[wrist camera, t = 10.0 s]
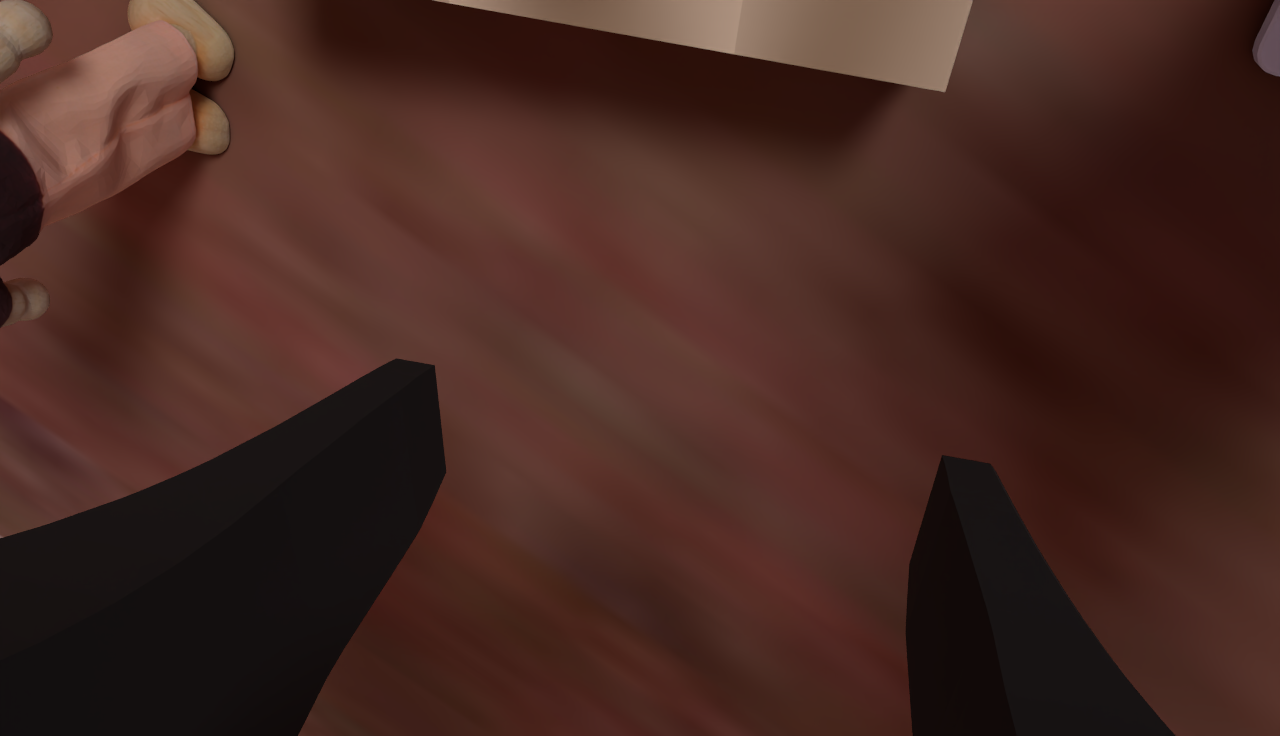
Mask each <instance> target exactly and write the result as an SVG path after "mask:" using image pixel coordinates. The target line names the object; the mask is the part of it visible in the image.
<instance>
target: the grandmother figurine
mask: <svg viewBox="0 0 1280 736" xmlns="http://www.w3.org/2000/svg"><path fill="white" fill-rule="evenodd" d="M128 21H129V24H130V28H131V32H129V33H127V34H125V35H123V36H121V37H119V38H117V39H115V40H113V41H111V42H109V43H106V44H104V45H102V46H100V47H98V48H96V49H94V50H92V51H90V52H88V53H85V54H83V55H81V56H79V57H76V58H74V59H72V60H69V61H67V62H64V63H62V64H59V65H57V66H54V67H51V68H49V69H46V70H43V71H41V72H38V73H36V74H33V75H31V76H28V77H26V78H23V79H20V80H18V81H16V82H14V83H12V84H10V85H8V86H6V87H5V88H3V89H2V90H0V265H2V264H4V263H5V262H6V261H8V260H9V259H11V258H12V257H14V256H16V255H17V254H18V253H20V252H21V251H22V250H23V249H24V248H26V247H28V246H30V245H31V244H32V243H33V242H34V241H35V240H36V239H37V238H38V235H39V233H40V232H41V230H42V229H43V227H45V226H48V225H50V224H52V223H55V222H57V221H60V220H62V219H65V218H67V217H70V216H72V215H75V214H77V213H79V212H82V211H84V210H85V209H87V208H89V207H91V206H93V205H95V204H96V203H99V202H101V201H103V200H106V199H108V198H110V197H112V196H114V195H116V194H118V193H119V192H121V191H123V190H124V189H126V188H128V187H129V186H131V185H132V184H134V183H136V182H137V181H139V180H140V179H142V178H143V177H144V176H146V175H148V174H149V173H151V172H153V171H154V170H156V169H158V168H160V167H161V166H163V165H165V164H167V163H168V162H170V161H172V160H174V159H176V158H177V157H179V156H180V155H182V154H183V153H184V152H185V151H187V150H190V151H194V152H198V153H203V154H214V155H215V154H220V153H222V152H223V151H225V150H226V149H227V147H228V145H229V142H230V140H229V139H230V128H229V122H228V120H227V117H226V115H225V114H224V112H223V111H222V110H221V108H220V107H219V106H218V105H217V104H216V103H215V102H213V101H212V100H210V99H208V98H207V97H205V96H203V95H202V94H200V93H198V92H196V91H195V90H193V89H191V88H192V87H193V86H194V84H195V83H196V80H197V77H198V78H201V79H203V80H207V81H218V80H221V79H223V78H225V77H226V76H227V75H228V74H229V72H230V70H231V67H232V64H233V60H234V48H233V45H232V42H231V40H230V38H229V36H228V35H227V33H226V32H225V31H224V30H223V29H222V27H221V26H220V25H219V24H218V23H217V22H216V21H215V20H214V19H213V18H212V17H211V16H210V15H208V14H207V13H206V12H205V11H204V10H203V9H202V8H201V7H200V6H199V5H198V4H197V3H196V2H195V1H194V0H130V3H129V6H128ZM52 36H53V33H52V28H51V24H50V22H49V20H48V18H47V17H46V16H45V15H44V14H43V12H42V11H41V10H40V9H38V8H37V7H36V6H34V5H33V4H31V3H28V2H26V1H23V0H4V1H1V2H0V83H1V82H3V81H4V80H5V79H7V78H8V77H9V76H11V75H12V74H13V73H15V72H16V70H17V69H18V67H19V65H20V62H21V61H22V60H23V59H25V58H29V57H33V56H36V55H38V54H40V53H42V52H43V51H44V50H45V49H46V48H47V47H48V46H49V45H50V43H51V40H52ZM49 303H50V296H49V293H48V291H47V289H46V287H45V286H44V285H43V284H41V283H40V282H38V281H37V280H34V279H31V278H18V279H13V280H10V281H7V282H3V281H2V279H1V278H0V328H1V327H3V326H7V325H11V324H13V323H15V322H17V321H19V320H21V321H26V320H33V319H36V318H39V317H40V316H41V315H43V314H44V313H45V312H46V310H47V309H48V307H49Z"/></svg>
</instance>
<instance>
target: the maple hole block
mask: <svg viewBox="0 0 1280 736" xmlns="http://www.w3.org/2000/svg"><path fill="white" fill-rule="evenodd" d="M434 1H439V2H445V3H450V4H456V5H462V6H467V7H473V8H478V9H484V10H490V11H495V12H501V13H506V14H512V15H517V16H523V17H529V18H534V19H540V20H545V21H551V22H557V23H562V24H568V25H573V26H579V27H584V28H590V29H596V30H601V31H607V32H612V33H618V34H624V35H629V36H635V37H640V38H646V39H651V40H657V41H663V42H668V43H674V44H679V45H685V46H691V47H696V48H702V49H707V50H713V51H718V52H724V53H730V54H735V55H741V56H746V57H752V58H758V59H763V60H769V61H774V62H780V63H785V64H791V65H797V66H802V67H808V68H813V69H819V70H825V71H830V72H836V73H841V74H847V75H852V76H858V77H864V78H869V79H875V80H880V81H886V82H892V83H897V84H903V85H908V86H914V87H919V88H925V89H931V90H936V91H942V92H945V91H946V88H947V84H948V81H949V78H950V74H951V71H952V68H953V64H954V61H955V58H956V55H957V51H958V48H959V45H960V41H961V38H962V35H963V31H964V28H965V25H966V22H967V18H968V15H969V12H970V8H971V5H972V2H973V0H434Z"/></svg>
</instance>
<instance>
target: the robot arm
mask: <svg viewBox="0 0 1280 736" xmlns="http://www.w3.org/2000/svg"><path fill="white" fill-rule="evenodd" d="M1252 52H1253V57H1254V60H1255V62H1256V63H1257V64H1258V65H1259V66H1260V67H1261V68H1262V69H1263V70H1264V71H1265V72H1267V73H1269V74H1272V75H1275V76H1280V0H1274V2H1273V4H1272V7H1271V9H1270V11H1269V13H1268V15H1267V17H1266V19H1265V21H1264V23H1263V25H1262V27H1261V29H1260V31H1259V33H1258V35H1257V37H1256V39H1255V42H1254V46H1253V49H1252ZM445 474H446V465H445V456H444V447H443V438H442V428H441V419H440V410H439V401H438V392H437V382H436V373H435V365H430V364H424V363H419V362H413V361H407V360H402V359H394V360H392V361H390V362H388V363H386V364H385V365H383V366H381V367H379V368H377V369H375V370H373V371H372V372H370V373H368V374H366V375H365V376H363V377H361V378H359V379H358V380H356V381H354V382H352V383H351V384H349V385H347V386H346V387H344V388H342V389H340V390H339V391H337V392H335V393H333V394H332V395H330V396H328V397H327V398H325V399H323V400H321V401H320V402H318V403H316V404H314V405H313V406H311V407H309V408H307V409H306V410H304V411H302V412H300V413H299V414H297V415H295V416H293V417H291V418H290V419H288V420H286V421H284V422H283V423H281V424H279V425H277V426H275V427H274V428H272V429H270V430H268V431H266V432H264V433H262V434H260V435H258V436H256V437H254V438H252V439H250V440H248V441H247V442H245V443H243V444H241V445H239V446H237V447H235V448H233V449H231V450H229V451H227V452H225V453H223V454H221V455H219V456H217V457H216V458H214V459H212V460H210V461H207V462H205V463H203V464H201V465H199V466H197V467H195V468H192V469H190V470H188V471H186V472H184V473H181V474H179V475H177V476H175V477H172V478H170V479H168V480H165V481H163V482H160V483H158V484H156V485H153V486H151V487H149V488H146V489H144V490H141V491H139V492H136V493H134V494H131V495H129V496H126V497H124V498H121V499H118V500H115V501H113V502H110V503H107V504H104V505H101V506H98V507H96V508H93V509H90V510H87V511H84V512H81V513H78V514H76V515H73V516H70V517H67V518H64V519H61V520H59V521H56V522H53V523H50V524H47V525H44V526H41V527H37V528H34V529H31V530H27V531H24V532H21V533H17V534H14V535H11V536H7V537H4V538H0V736H298V734H299V732H300V730H301V728H302V726H303V724H304V722H305V720H306V718H307V716H308V714H309V712H310V710H311V708H312V706H313V704H314V702H315V700H316V698H317V696H318V695H319V693H320V691H321V689H322V687H323V685H324V683H325V681H326V679H327V677H328V675H329V673H330V672H331V670H332V668H333V667H334V665H335V663H336V661H337V660H338V658H339V656H340V655H341V653H342V651H343V649H344V648H345V646H346V645H347V643H348V642H349V640H350V639H351V637H352V636H353V634H354V632H355V631H356V629H357V628H358V626H359V625H360V623H361V622H362V620H363V618H364V617H365V615H366V614H367V612H368V611H369V609H370V608H371V606H372V604H373V603H374V601H375V600H376V598H377V597H378V595H379V594H380V592H381V590H382V589H383V587H384V586H385V584H386V583H387V581H388V580H389V578H390V576H391V575H392V573H393V572H394V570H395V569H396V567H397V565H398V564H399V562H400V561H401V559H402V558H403V556H404V554H405V553H406V551H407V550H408V548H409V546H410V545H411V543H412V542H413V540H414V538H415V537H416V535H417V533H418V532H419V530H420V528H421V526H422V524H423V522H424V520H425V518H426V516H427V514H428V512H429V509H430V507H431V505H432V503H433V501H434V499H435V496H436V494H437V492H438V490H439V487H440V485H441V483H442V480H443V478H444V476H445ZM906 645H907V661H908V675H909V690H910V704H911V718H912V732H913V736H1175V735H1174V734H1173V732H1172V731H1171V730H1170V729H1169V728H1168V727H1167V726H1166V725H1165V723H1164V722H1163V721H1162V720H1161V719H1160V718H1159V717H1158V715H1157V714H1156V713H1155V712H1154V711H1153V709H1152V708H1151V707H1150V706H1149V705H1148V703H1147V702H1146V701H1145V700H1144V699H1143V697H1142V696H1141V695H1140V694H1139V693H1138V691H1137V690H1136V689H1135V688H1134V687H1133V685H1132V684H1131V683H1130V682H1129V680H1128V679H1127V678H1126V677H1125V675H1124V674H1123V673H1122V672H1121V670H1120V669H1119V668H1118V666H1117V665H1116V664H1115V662H1114V661H1113V660H1112V658H1111V657H1110V656H1109V654H1108V653H1107V652H1106V650H1105V649H1104V647H1103V646H1102V645H1101V643H1100V642H1099V640H1098V639H1097V638H1096V636H1095V635H1094V633H1093V632H1092V631H1091V629H1090V628H1089V626H1088V625H1087V624H1086V622H1085V621H1084V619H1083V618H1082V616H1081V615H1080V613H1079V612H1078V610H1077V609H1076V607H1075V606H1074V604H1073V603H1072V601H1071V600H1070V598H1069V597H1068V595H1067V594H1066V592H1065V591H1064V589H1063V587H1062V586H1061V584H1060V583H1059V581H1058V580H1057V578H1056V576H1055V575H1054V573H1053V572H1052V570H1051V568H1050V567H1049V565H1048V564H1047V562H1046V560H1045V559H1044V557H1043V556H1042V554H1041V552H1040V551H1039V549H1038V547H1037V545H1036V544H1035V542H1034V540H1033V539H1032V537H1031V535H1030V533H1029V532H1028V530H1027V528H1026V526H1025V525H1024V523H1023V521H1022V519H1021V518H1020V516H1019V514H1018V512H1017V510H1016V508H1015V507H1014V505H1013V503H1012V501H1011V499H1010V497H1009V495H1008V494H1007V492H1006V490H1005V488H1004V486H1003V484H1002V482H1001V480H1000V478H999V476H998V475H997V473H996V471H995V470H994V468H993V467H992V466H991V464H989V463H983V462H978V461H972V460H966V459H961V458H955V457H949V456H944V455H942V458H941V461H940V464H939V468H938V471H937V474H936V478H935V481H934V484H933V487H932V491H931V494H930V497H929V501H928V504H927V507H926V511H925V514H924V517H923V521H922V524H921V527H920V531H919V534H918V537H917V541H916V544H915V547H914V550H913V554H912V557H911V560H910V564H909V580H908V596H907V615H906Z"/></svg>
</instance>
